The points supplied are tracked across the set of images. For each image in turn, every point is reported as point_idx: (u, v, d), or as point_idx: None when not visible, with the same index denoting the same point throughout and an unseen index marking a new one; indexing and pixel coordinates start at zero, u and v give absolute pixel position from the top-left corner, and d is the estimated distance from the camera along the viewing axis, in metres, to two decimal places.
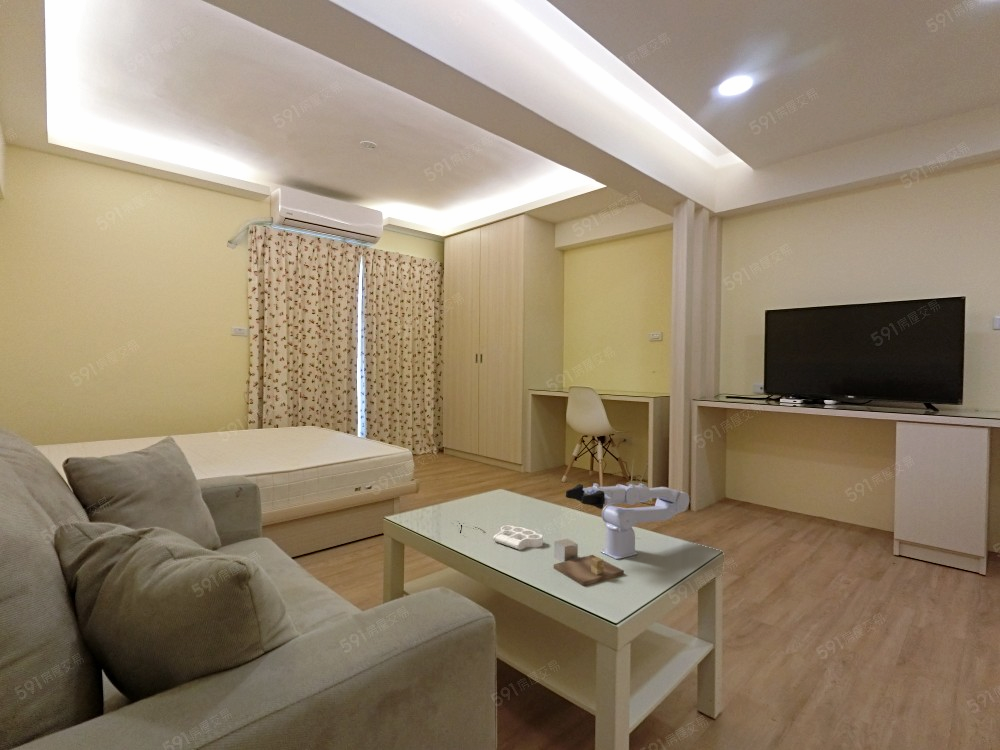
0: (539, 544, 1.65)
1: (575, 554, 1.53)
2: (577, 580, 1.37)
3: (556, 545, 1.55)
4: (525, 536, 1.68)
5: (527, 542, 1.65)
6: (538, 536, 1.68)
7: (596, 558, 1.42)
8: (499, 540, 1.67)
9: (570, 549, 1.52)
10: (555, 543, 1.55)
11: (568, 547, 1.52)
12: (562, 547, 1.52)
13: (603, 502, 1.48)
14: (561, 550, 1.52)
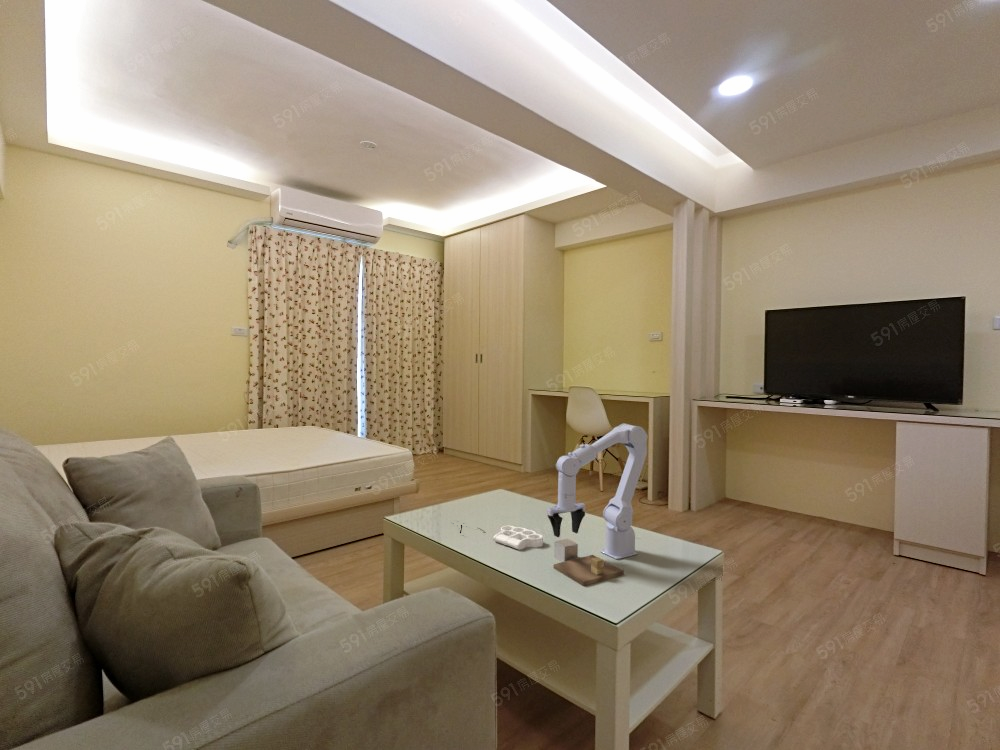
0: (539, 544, 1.65)
1: (575, 554, 1.53)
2: (577, 580, 1.37)
3: (556, 545, 1.55)
4: (525, 536, 1.68)
5: (527, 542, 1.65)
6: (538, 536, 1.68)
7: (596, 558, 1.42)
8: (499, 540, 1.67)
9: (570, 549, 1.52)
10: (555, 543, 1.55)
11: (568, 547, 1.52)
12: (562, 547, 1.52)
13: (552, 516, 1.51)
14: (561, 550, 1.52)
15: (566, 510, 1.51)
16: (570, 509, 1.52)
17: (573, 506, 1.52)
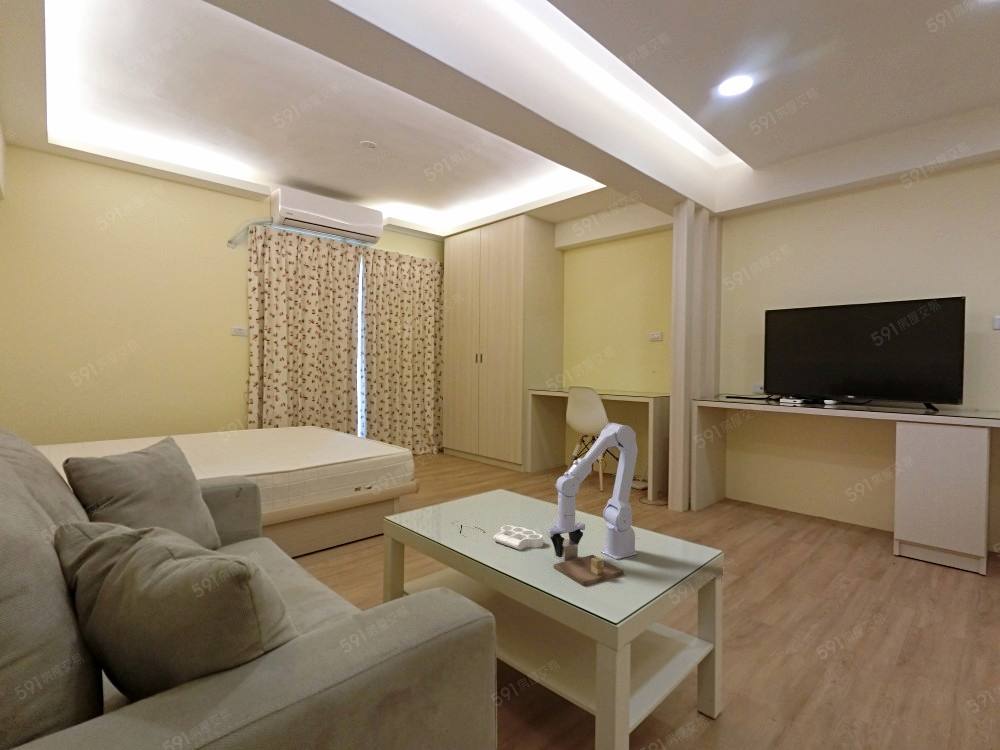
0: (539, 544, 1.65)
1: (575, 554, 1.53)
2: (577, 580, 1.37)
3: None
4: (525, 536, 1.68)
5: (527, 542, 1.65)
6: (538, 536, 1.68)
7: (596, 558, 1.42)
8: (499, 540, 1.67)
9: (570, 549, 1.52)
10: None
11: (568, 547, 1.52)
12: (562, 547, 1.52)
13: (554, 536, 1.51)
14: None
15: (566, 531, 1.51)
16: (570, 530, 1.52)
17: (573, 526, 1.52)
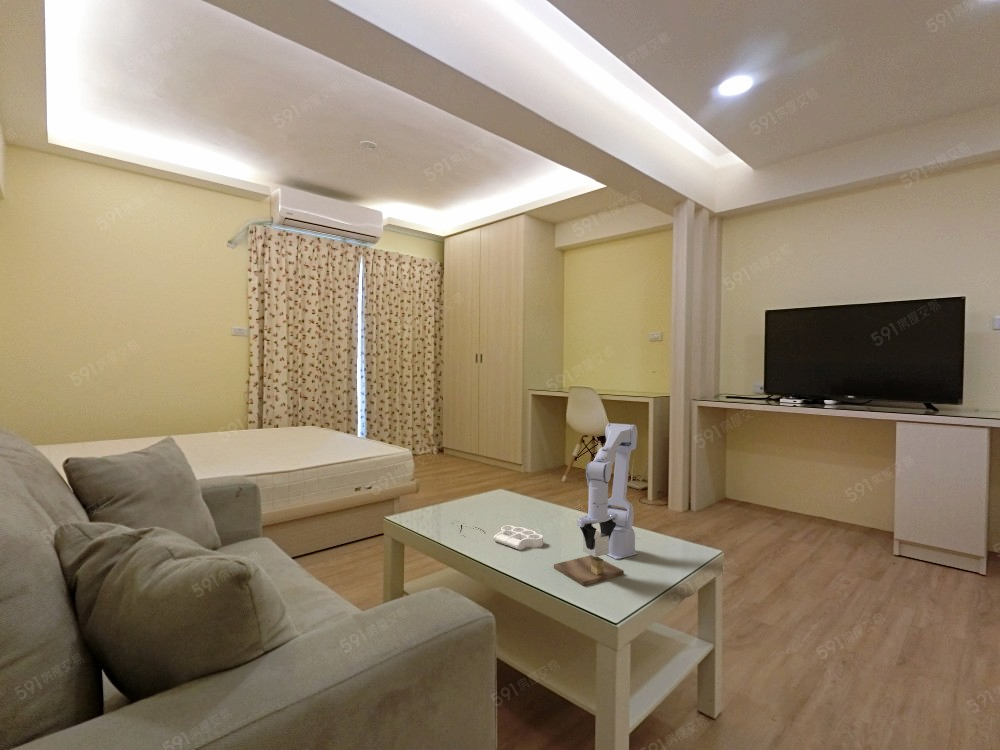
0: (539, 544, 1.65)
1: (606, 547, 1.41)
2: (577, 580, 1.37)
3: None
4: (525, 536, 1.68)
5: (527, 542, 1.64)
6: (538, 536, 1.68)
7: (596, 558, 1.42)
8: (499, 540, 1.67)
9: (601, 541, 1.40)
10: None
11: (599, 539, 1.39)
12: None
13: (585, 527, 1.38)
14: None
15: (598, 521, 1.38)
16: (602, 519, 1.39)
17: (605, 516, 1.40)
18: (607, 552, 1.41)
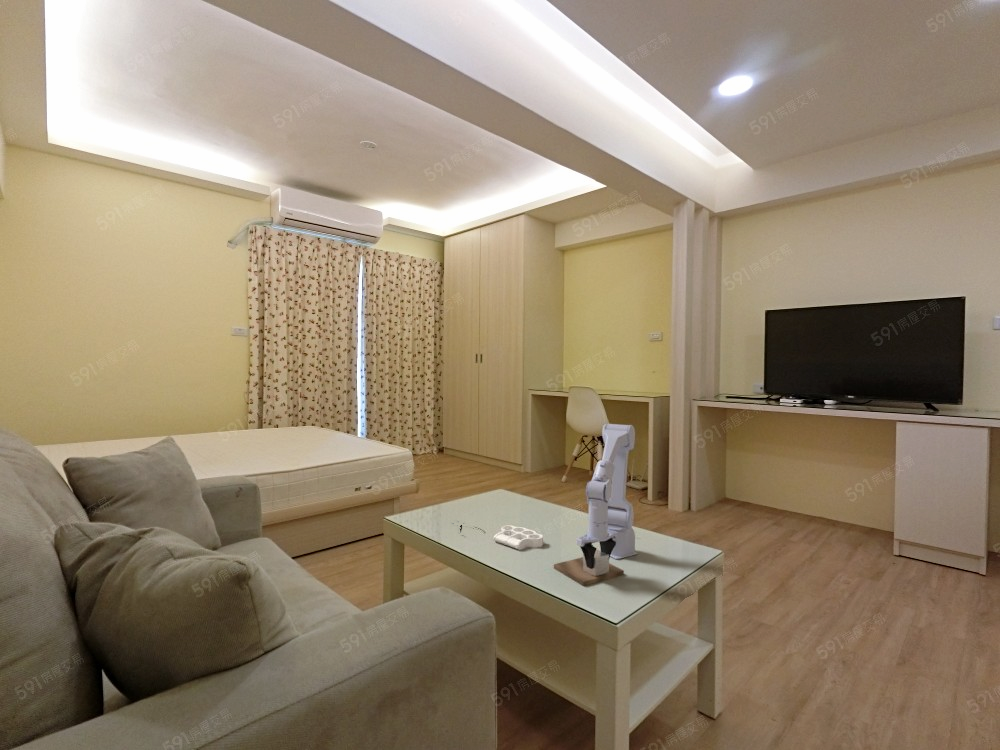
0: (539, 544, 1.65)
1: (606, 566, 1.41)
2: (577, 580, 1.37)
3: None
4: (525, 536, 1.68)
5: (527, 542, 1.64)
6: (538, 536, 1.68)
7: None
8: (499, 540, 1.67)
9: (601, 560, 1.40)
10: None
11: (599, 558, 1.39)
12: None
13: (585, 546, 1.38)
14: None
15: (598, 540, 1.38)
16: (602, 539, 1.39)
17: (605, 535, 1.40)
18: (607, 571, 1.41)
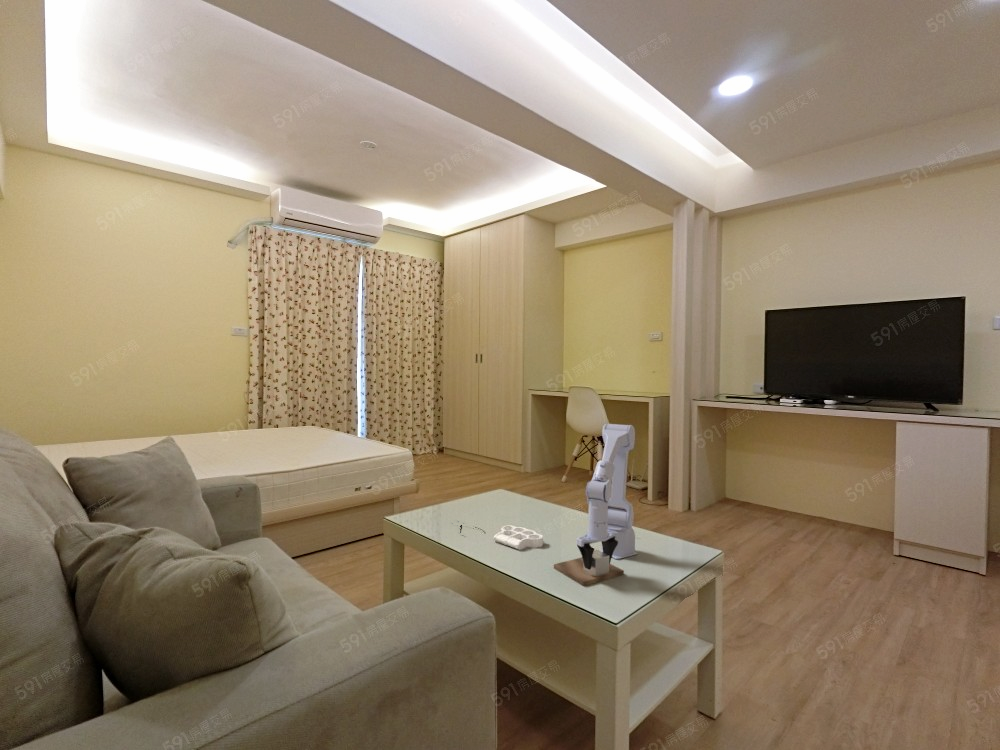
0: (539, 544, 1.65)
1: (606, 567, 1.41)
2: (577, 580, 1.37)
3: None
4: (525, 536, 1.68)
5: (527, 542, 1.64)
6: (538, 536, 1.68)
7: None
8: (499, 540, 1.67)
9: (601, 561, 1.40)
10: None
11: (599, 559, 1.39)
12: (593, 559, 1.39)
13: (583, 547, 1.38)
14: (592, 563, 1.40)
15: (598, 540, 1.38)
16: (602, 539, 1.39)
17: (605, 535, 1.40)
18: (607, 572, 1.41)
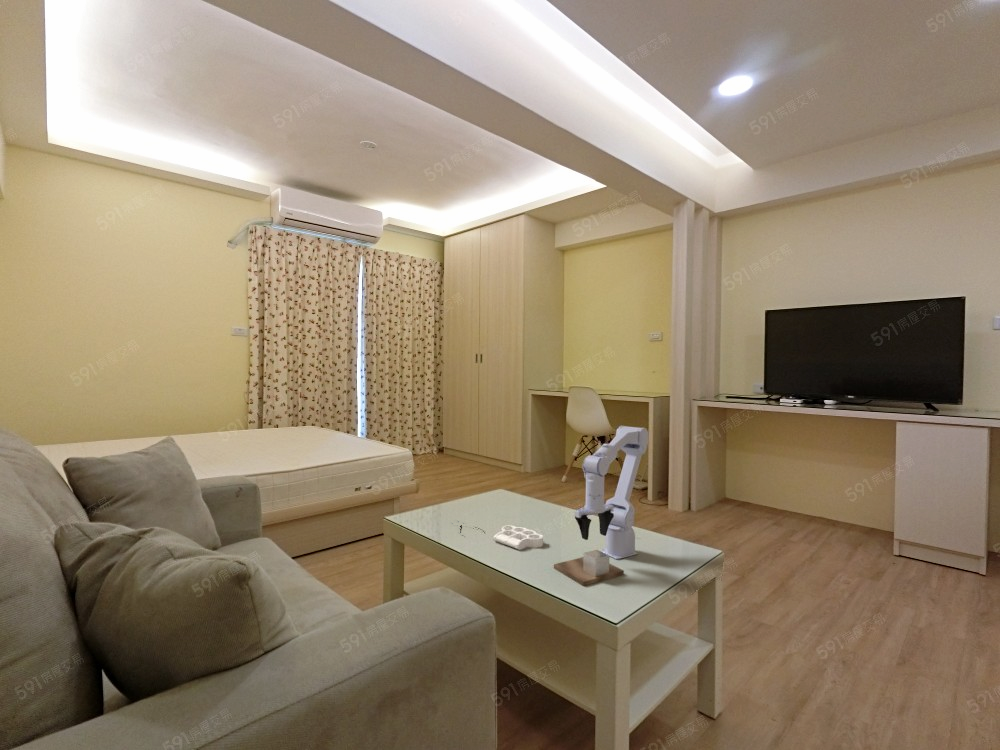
0: (539, 544, 1.65)
1: (606, 567, 1.41)
2: (577, 580, 1.37)
3: (585, 557, 1.42)
4: (525, 536, 1.68)
5: (527, 542, 1.64)
6: (539, 536, 1.68)
7: None
8: (499, 540, 1.67)
9: (601, 561, 1.40)
10: (584, 555, 1.43)
11: (599, 559, 1.39)
12: (593, 559, 1.39)
13: (580, 518, 1.45)
14: (592, 563, 1.40)
15: (595, 512, 1.46)
16: (599, 511, 1.46)
17: (602, 507, 1.47)
18: (607, 572, 1.41)
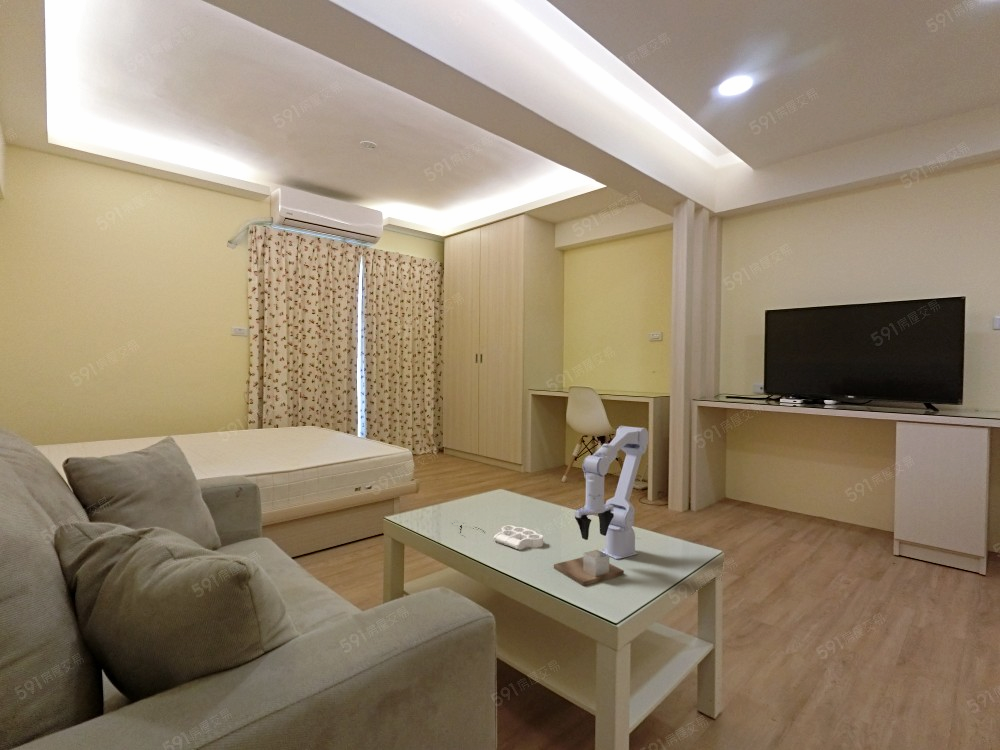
0: (539, 544, 1.65)
1: (606, 567, 1.41)
2: (577, 580, 1.37)
3: (585, 557, 1.42)
4: (525, 536, 1.68)
5: (527, 542, 1.64)
6: (539, 536, 1.68)
7: None
8: (499, 540, 1.67)
9: (601, 561, 1.40)
10: (584, 555, 1.43)
11: (599, 559, 1.39)
12: (593, 559, 1.39)
13: (580, 518, 1.45)
14: (592, 563, 1.40)
15: (595, 512, 1.46)
16: (599, 511, 1.46)
17: (602, 507, 1.47)
18: (607, 572, 1.41)
